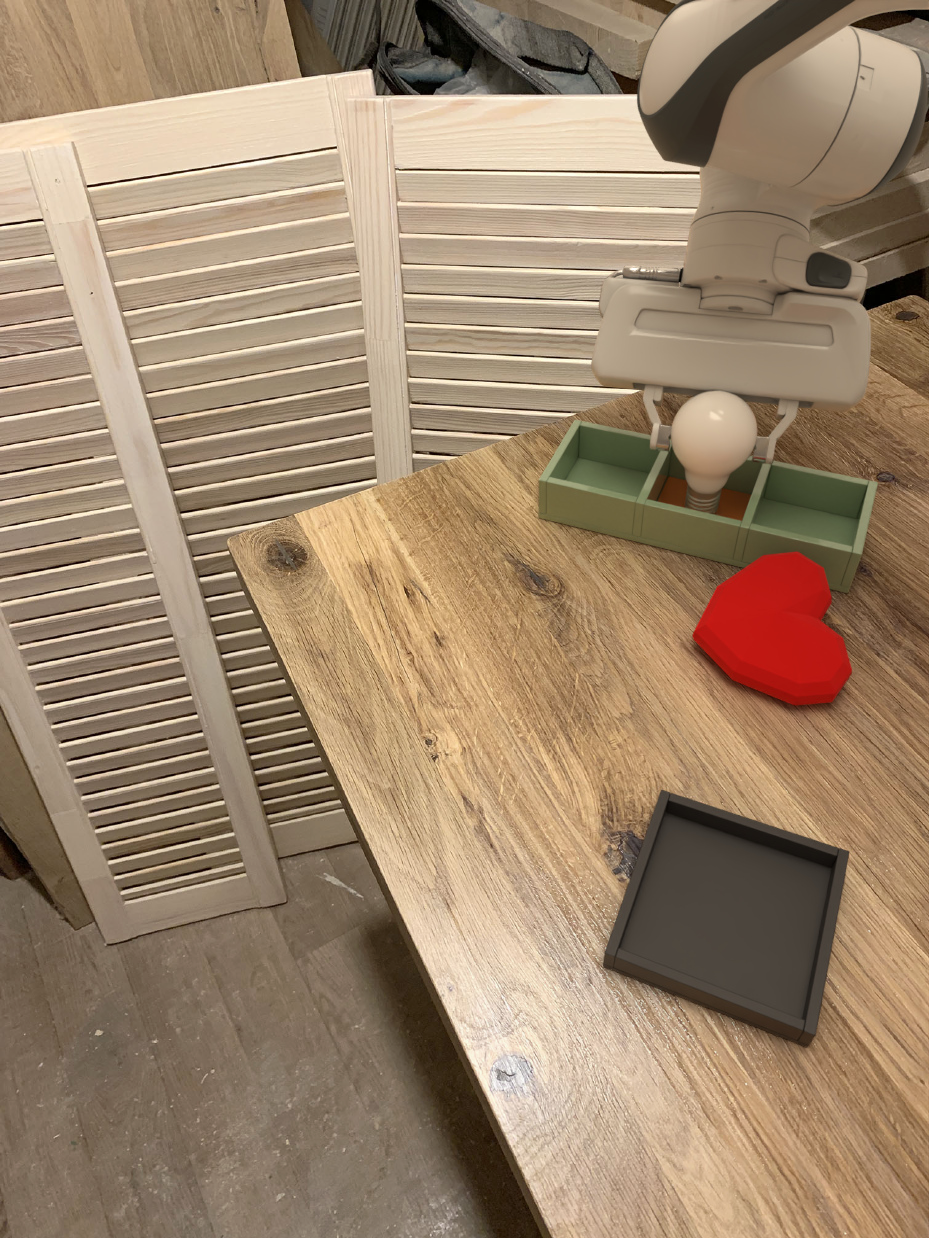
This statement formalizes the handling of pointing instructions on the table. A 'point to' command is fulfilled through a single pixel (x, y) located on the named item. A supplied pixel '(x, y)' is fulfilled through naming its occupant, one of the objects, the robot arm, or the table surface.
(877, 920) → the table surface
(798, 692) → the heart
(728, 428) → the lightbulb
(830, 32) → the robot arm
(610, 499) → the green compartment box
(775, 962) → the tray
